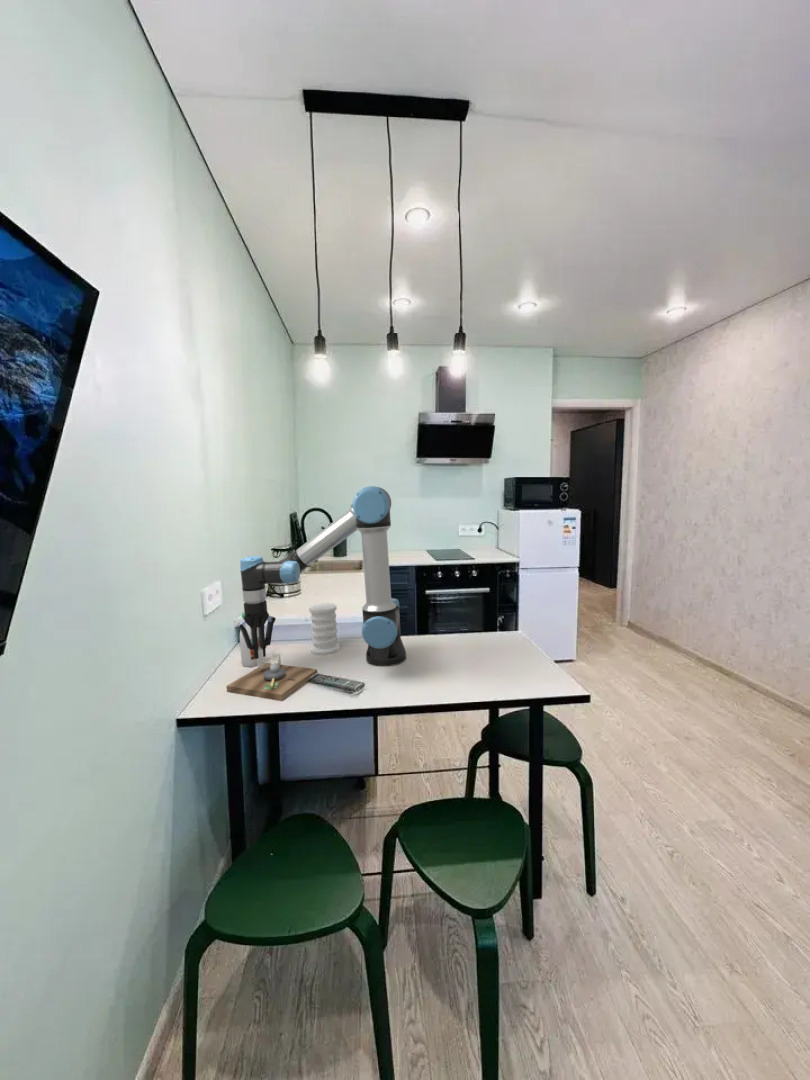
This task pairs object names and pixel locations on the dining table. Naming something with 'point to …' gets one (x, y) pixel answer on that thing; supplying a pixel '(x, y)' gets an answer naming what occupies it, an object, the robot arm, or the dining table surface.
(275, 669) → the tuning dial
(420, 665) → the dining table surface
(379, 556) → the robot arm
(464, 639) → the dining table surface
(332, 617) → the decorative container
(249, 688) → the board
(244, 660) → the milk bottle
